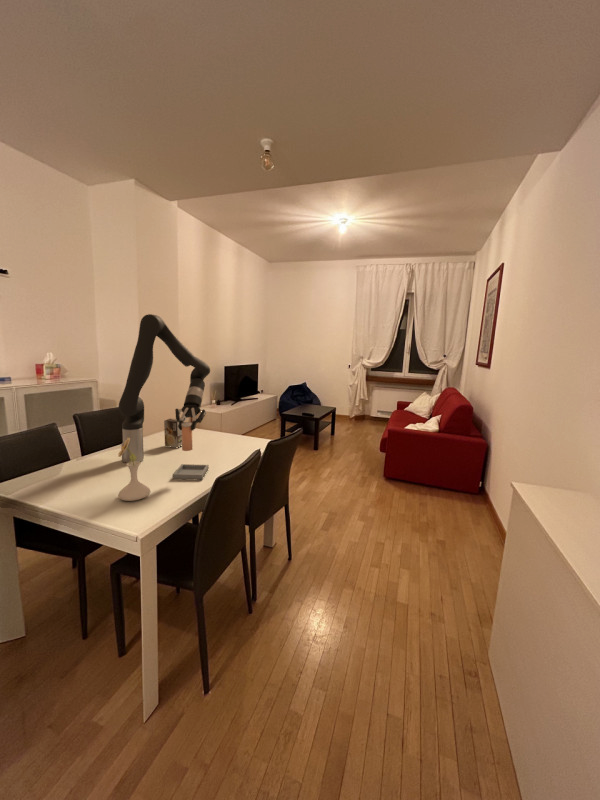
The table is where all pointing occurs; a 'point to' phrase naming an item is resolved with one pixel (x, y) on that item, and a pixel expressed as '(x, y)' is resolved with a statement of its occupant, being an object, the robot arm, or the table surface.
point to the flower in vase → (132, 479)
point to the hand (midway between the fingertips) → (186, 429)
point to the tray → (190, 471)
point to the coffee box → (172, 433)
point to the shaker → (186, 436)
